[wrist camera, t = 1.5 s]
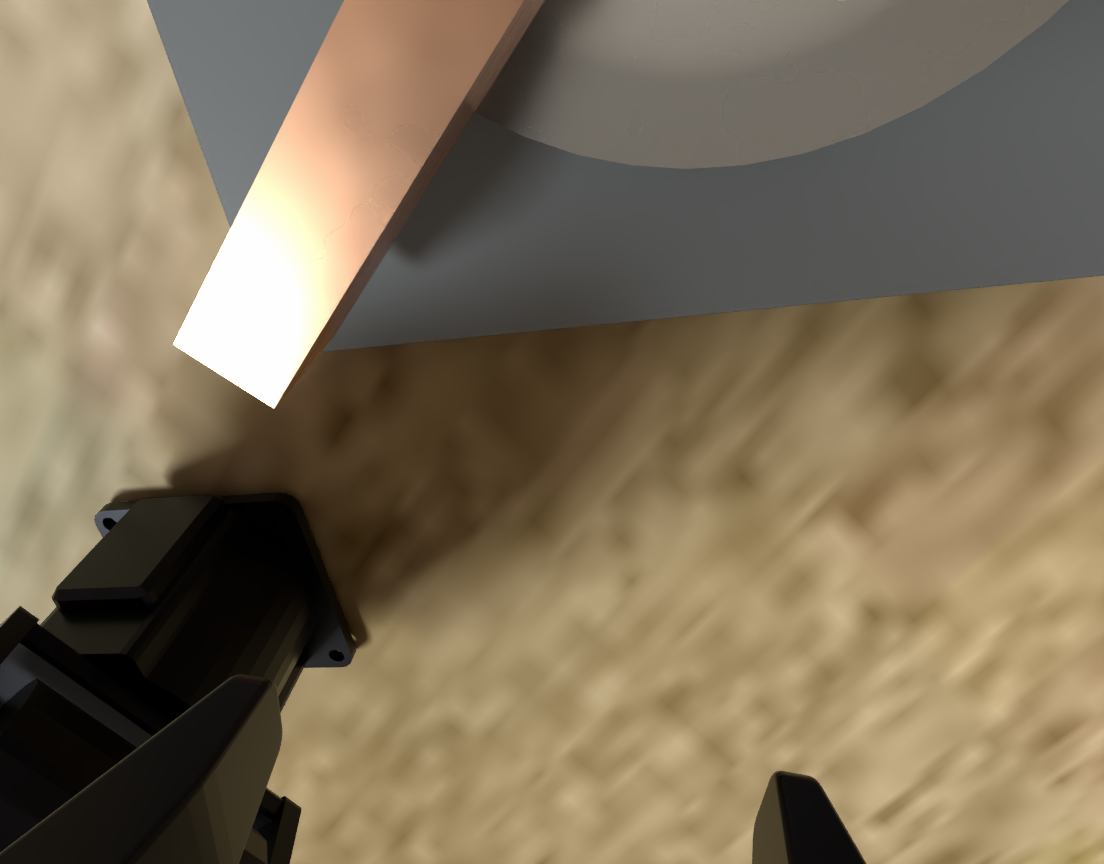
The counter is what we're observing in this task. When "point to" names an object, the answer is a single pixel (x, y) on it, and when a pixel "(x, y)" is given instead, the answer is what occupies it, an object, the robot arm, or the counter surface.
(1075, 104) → the post plate
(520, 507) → the counter surface
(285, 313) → the grey disc with handle
